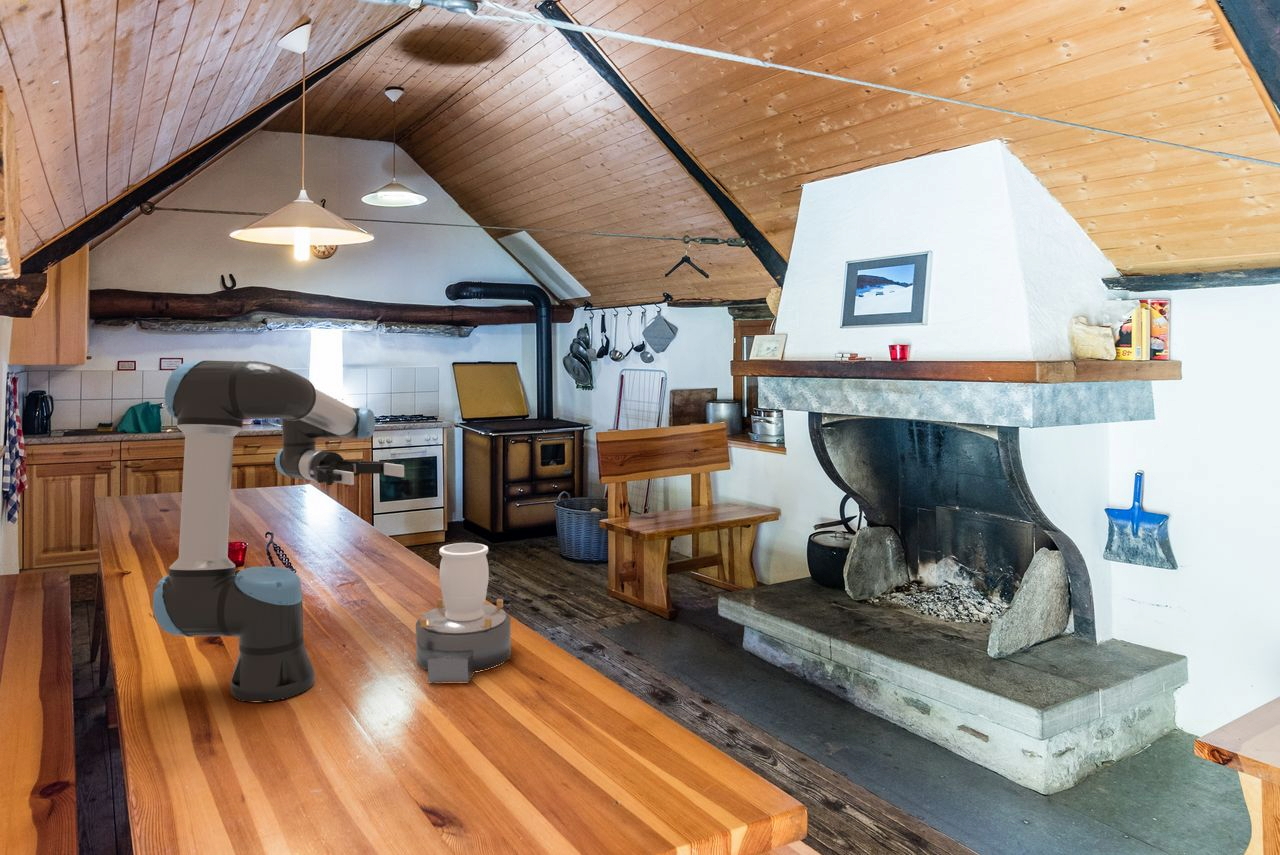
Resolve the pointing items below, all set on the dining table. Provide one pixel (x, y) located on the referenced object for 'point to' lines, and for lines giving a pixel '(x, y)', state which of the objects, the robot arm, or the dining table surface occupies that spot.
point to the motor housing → (462, 643)
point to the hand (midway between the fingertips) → (378, 474)
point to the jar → (464, 580)
